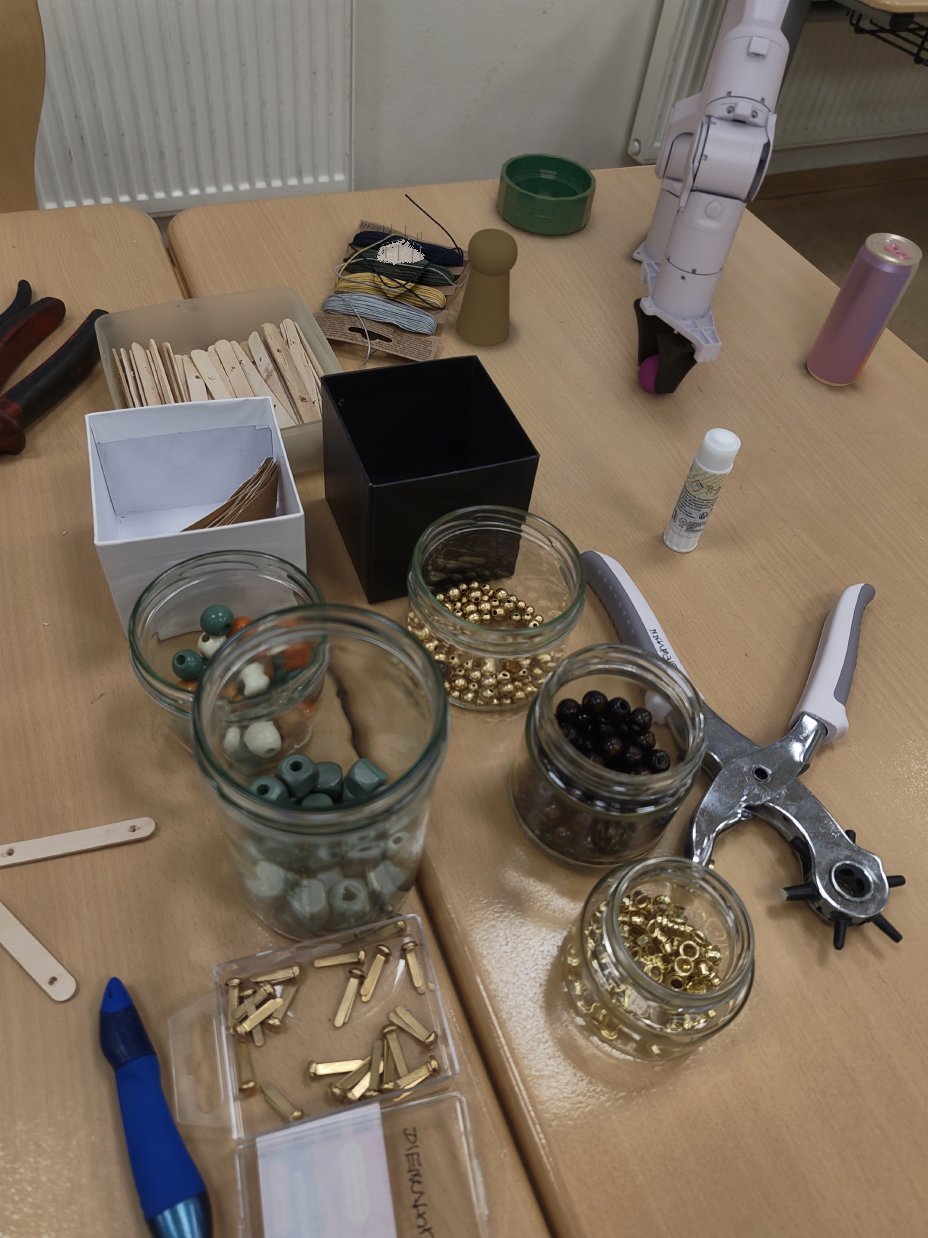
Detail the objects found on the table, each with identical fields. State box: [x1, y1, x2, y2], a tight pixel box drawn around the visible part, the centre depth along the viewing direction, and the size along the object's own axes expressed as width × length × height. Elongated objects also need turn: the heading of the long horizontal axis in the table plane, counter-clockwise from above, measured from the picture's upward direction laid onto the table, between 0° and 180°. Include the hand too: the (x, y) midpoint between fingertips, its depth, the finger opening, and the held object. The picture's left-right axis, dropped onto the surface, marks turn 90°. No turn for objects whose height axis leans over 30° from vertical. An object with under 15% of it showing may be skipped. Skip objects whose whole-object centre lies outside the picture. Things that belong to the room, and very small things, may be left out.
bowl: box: [495, 152, 597, 236], centre depth 112 cm, size 12×12×5 cm
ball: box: [637, 355, 659, 395], centre depth 91 cm, size 4×4×4 cm
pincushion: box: [377, 224, 425, 265], centre depth 100 cm, size 12×6×6 cm, turn 172°
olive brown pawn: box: [455, 227, 519, 347], centre depth 92 cm, size 6×6×11 cm
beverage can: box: [806, 232, 923, 387], centre depth 92 cm, size 6×6×15 cm
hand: (655, 378), depth 92 cm, fingers closed on ball, 4 cm apart
